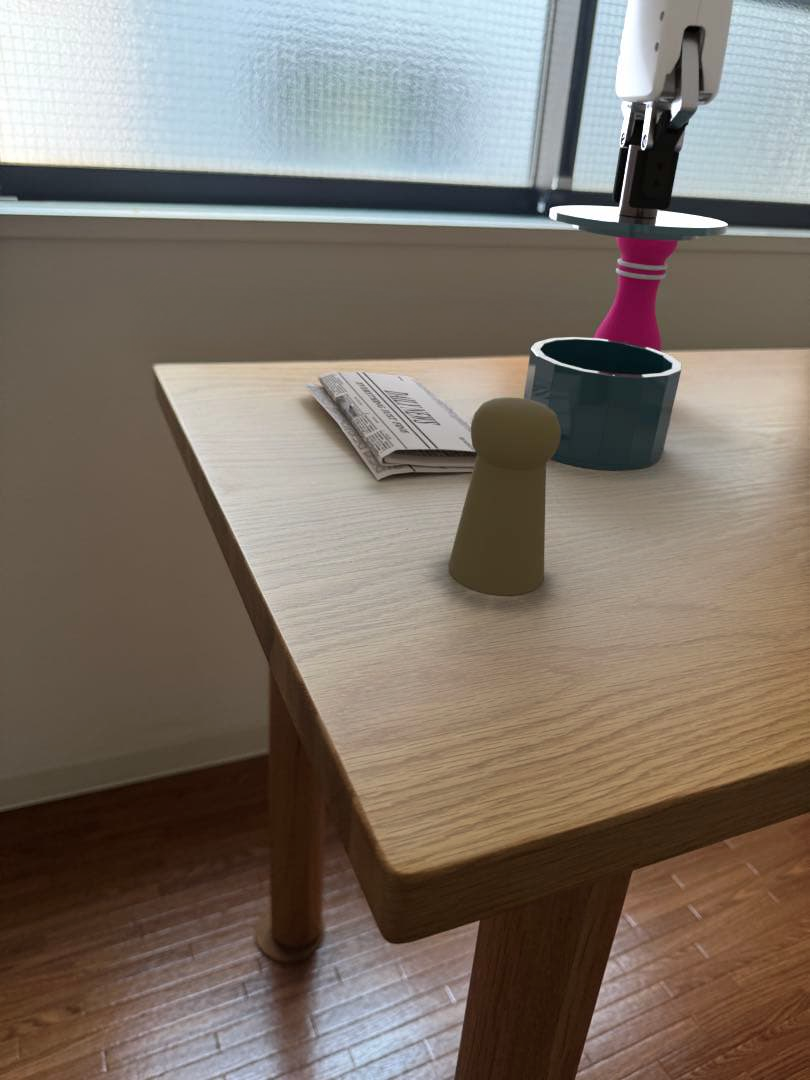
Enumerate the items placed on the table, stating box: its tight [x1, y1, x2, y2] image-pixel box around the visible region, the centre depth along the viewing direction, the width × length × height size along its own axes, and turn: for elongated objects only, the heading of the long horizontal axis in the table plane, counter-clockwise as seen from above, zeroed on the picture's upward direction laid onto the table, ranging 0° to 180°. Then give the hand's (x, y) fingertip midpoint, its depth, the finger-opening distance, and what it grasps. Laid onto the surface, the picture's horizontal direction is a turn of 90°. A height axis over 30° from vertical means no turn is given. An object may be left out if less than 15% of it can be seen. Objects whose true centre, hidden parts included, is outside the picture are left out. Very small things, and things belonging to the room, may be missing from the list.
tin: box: [523, 336, 683, 471], centre depth 75 cm, size 13×13×8 cm
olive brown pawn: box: [448, 396, 561, 596], centre depth 51 cm, size 6×6×11 cm
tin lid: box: [548, 145, 729, 242], centre depth 66 cm, size 14×14×6 cm
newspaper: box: [301, 371, 477, 481], centre depth 76 cm, size 23×12×2 cm, turn 18°
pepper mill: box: [593, 209, 679, 352], centre depth 88 cm, size 7×7×20 cm
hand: (639, 203), depth 67 cm, fingers closed on tin lid, 3 cm apart
